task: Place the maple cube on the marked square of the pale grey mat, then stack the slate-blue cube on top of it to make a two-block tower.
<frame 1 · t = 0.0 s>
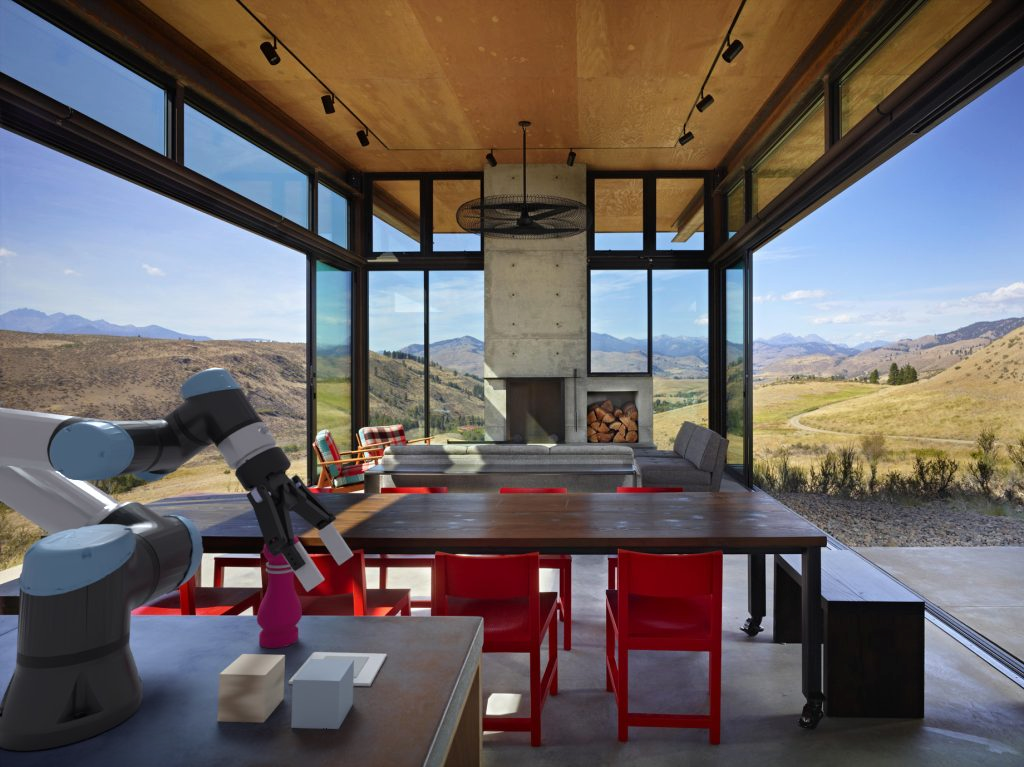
hand: (332, 572, 86), 15 cm above the table, tool tilted 35°, fingers open, 13 cm apart
maple cube: (251, 710, 75), on the table
mat: (340, 669, 87), on the table
pepper mill: (278, 642, 97), on the table
slate cube: (323, 716, 74), on the table
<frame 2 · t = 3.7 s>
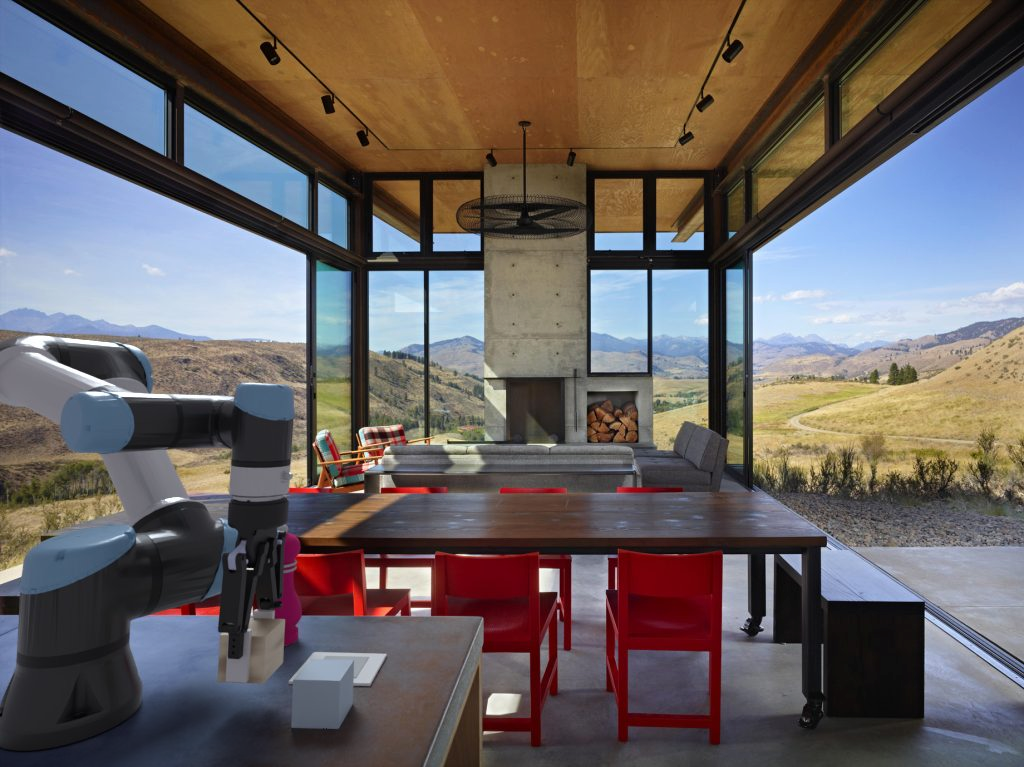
hand: (250, 668, 76), 5 cm above the table, tool pointing down, fingers closed on maple cube, 6 cm apart
maple cube: (251, 671, 76), point 5 cm above the table, touching gripper
everything else where it was.
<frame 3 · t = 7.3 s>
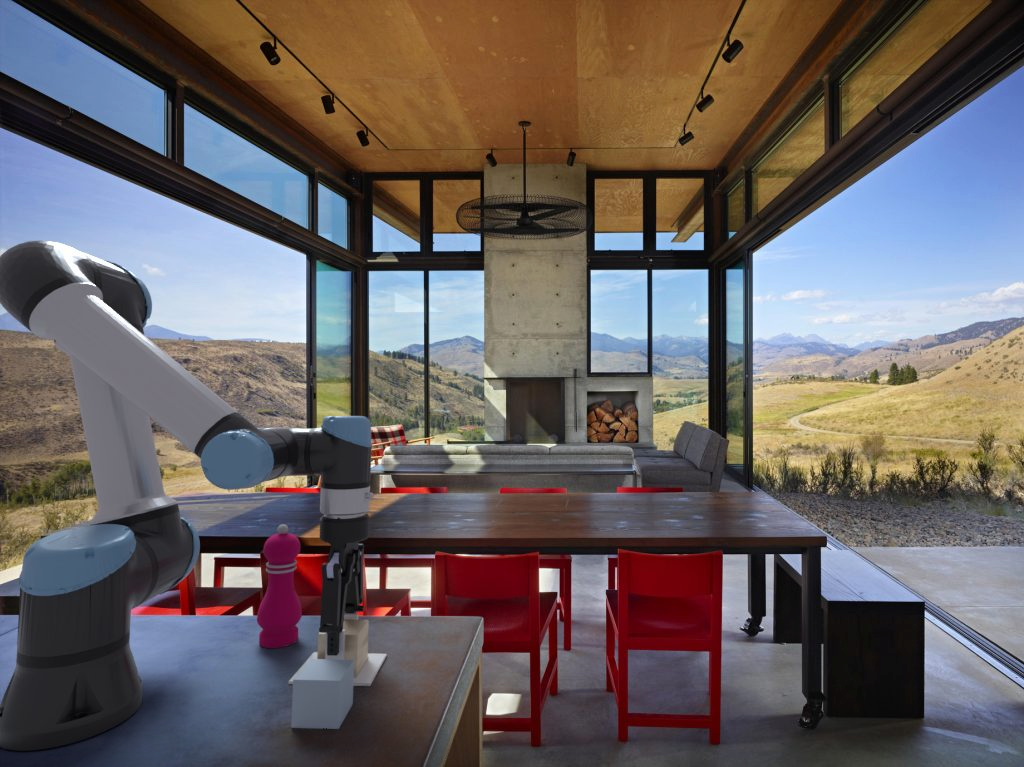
hand: (341, 664, 87), 1 cm above the table, tool pointing down, fingers closed on maple cube, mat, 6 cm apart
maple cube: (343, 666, 87), resting on mat, touching gripper
everything else where it was.
when the fingers open (1 cm above the table, at t = 7.7 s): maple cube stays where it is, resting on mat.
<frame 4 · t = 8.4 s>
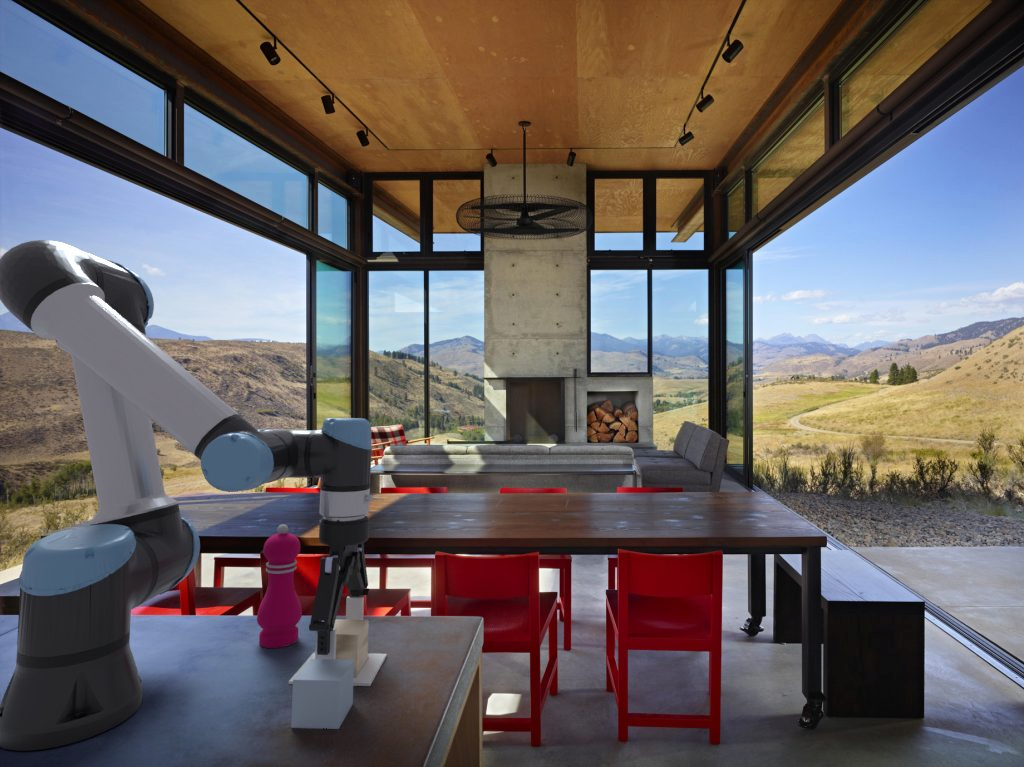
hand: (340, 654, 87), 2 cm above the table, tool pointing down, fingers open, 13 cm apart
maple cube: (343, 666, 87), resting on mat
everything else where it was.
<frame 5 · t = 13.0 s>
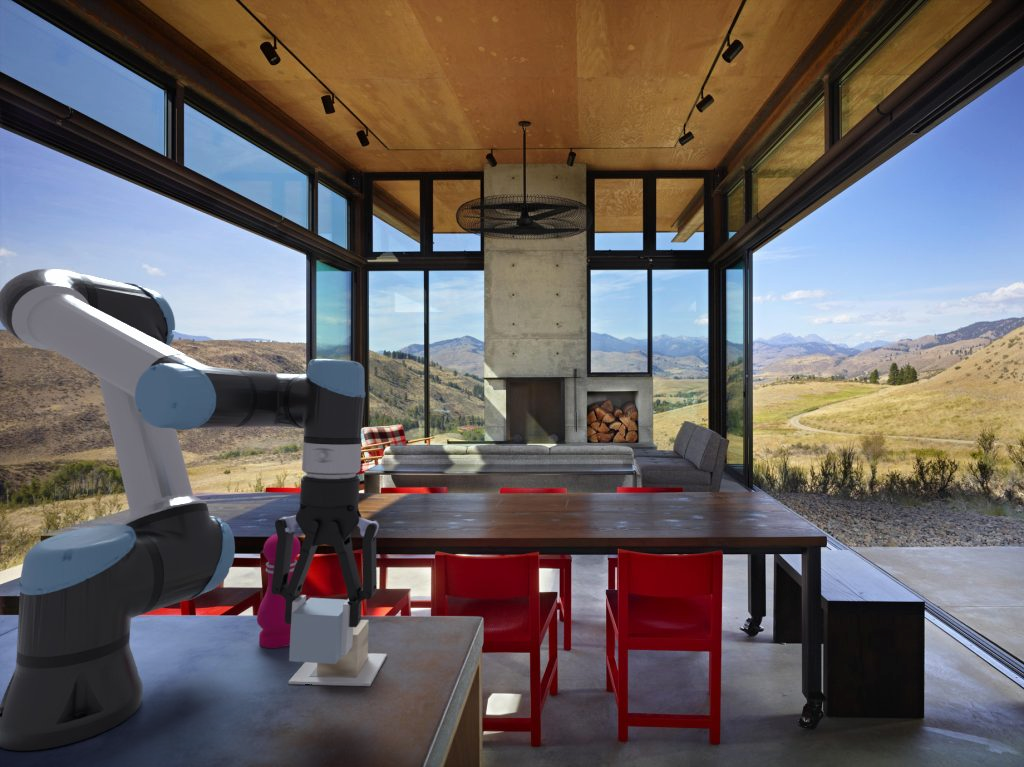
hand: (321, 648, 74), 8 cm above the table, tool pointing down, fingers closed on slate cube, 6 cm apart
slate cube: (321, 652, 74), point 8 cm above the table, touching gripper
everything else where it was.
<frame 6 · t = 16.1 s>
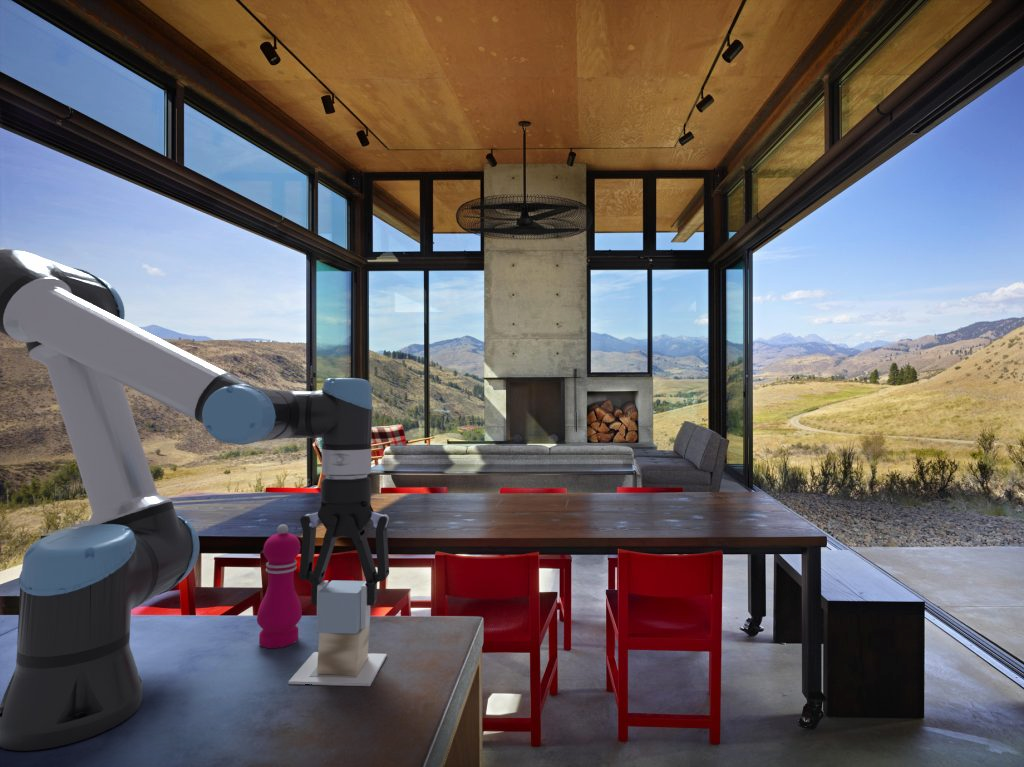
hand: (343, 625, 87), 7 cm above the table, tool pointing down, fingers closed on slate cube, 6 cm apart
maple cube: (343, 665, 87), point 1 cm above the table, touching gripper, mat, slate cube
slate cube: (343, 625, 87), point 7 cm above the table, touching gripper, maple cube
everything else where it was.
when the fingers open (7 cm above the table, at t = 16.6 s): slate cube stays where it is, resting on maple cube.
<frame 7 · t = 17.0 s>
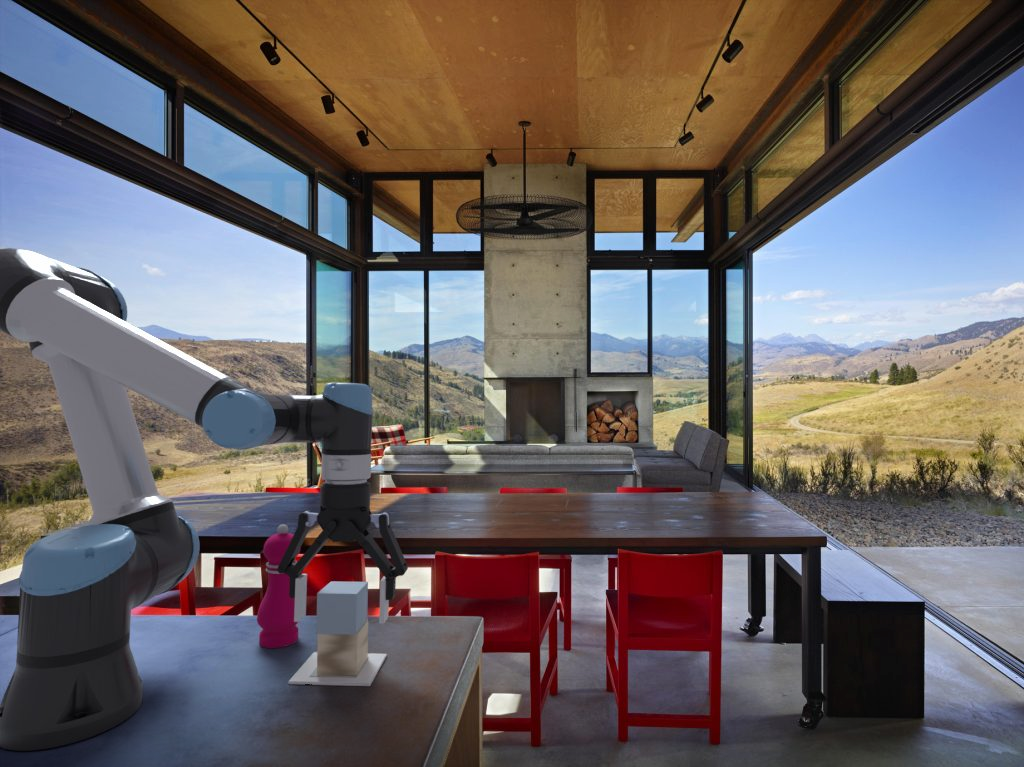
hand: (341, 619, 87), 8 cm above the table, tool pointing down, fingers open, 12 cm apart
maple cube: (343, 666, 87), point 1 cm above the table, touching mat, slate cube
slate cube: (342, 626, 87), point 7 cm above the table, touching maple cube
everything else where it was.
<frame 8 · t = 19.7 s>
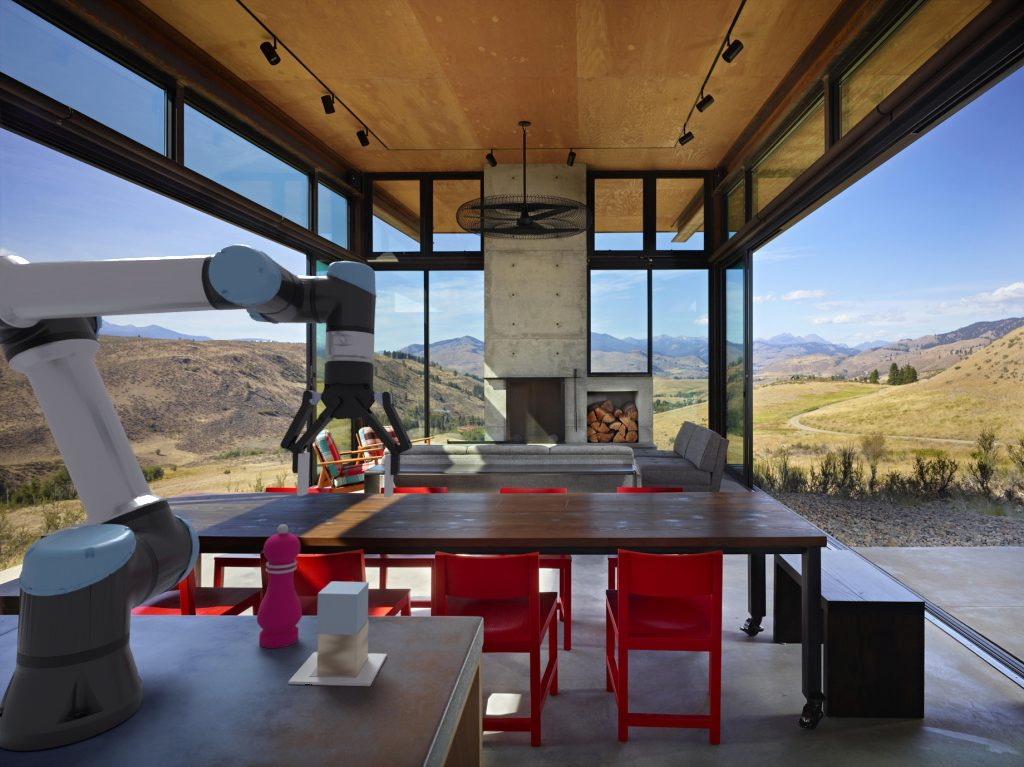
hand: (345, 495, 88), 27 cm above the table, tool pointing down, fingers open, 13 cm apart
nothing on the table moved.
at the end: maple cube inside the target area on the mat (0.4 cm from its centre), point 0.5 cm above the mat's base; slate cube 0.2 cm from the maple cube (horizontally); slate cube point 6.5 cm above the table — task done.
